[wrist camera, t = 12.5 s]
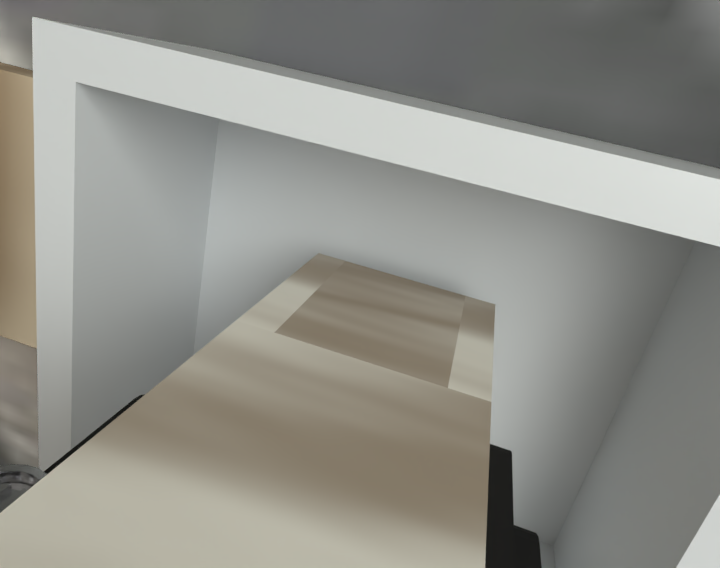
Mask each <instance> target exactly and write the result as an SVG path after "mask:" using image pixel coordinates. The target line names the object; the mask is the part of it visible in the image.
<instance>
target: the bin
mask: <svg viewBox="0 0 720 568" xmlns="http://www.w3.org/2000/svg"><path fill="white" fill-rule="evenodd" d="M32 45H33V113H34V180H35V248H36V316H37V384H38V451H39V469H40V470H42V471H43V472H44V471H45V470H46V469H48V468H49V467H50V466H51V465H53V464H54V463H55V462H56V461H58V460H59V459H60V458H61V457H62V456H64V455H65V454H66V453H67V452H69V451H70V450H71V449H72V448H74V447H75V446H76V445H77V444H79V443H80V442H81V441H82V440H84V439H85V438H86V437H87V436H89V435H90V434H91V433H92V432H94V431H95V430H96V429H97V428H99V427H100V426H101V425H102V424H103V423H105V422H106V421H107V420H108V419H110V418H111V417H112V416H113V415H115V414H116V413H117V412H118V411H120V410H121V409H122V408H123V407H125V406H126V405H127V404H128V403H130V402H131V401H132V400H133V399H135V398H136V397H138V396H140V395H144V394H146V393H148V392H149V391H150V390H151V389H153V388H154V387H155V386H156V385H157V384H159V383H160V382H161V381H162V380H164V379H165V378H166V377H167V376H169V375H170V374H171V373H172V372H173V371H175V370H176V369H177V368H178V367H180V366H181V365H182V364H183V363H184V362H186V361H187V360H188V359H189V358H191V357H192V356H193V355H194V354H195V353H197V352H198V351H199V350H200V349H202V348H203V347H204V346H205V345H206V344H208V343H209V342H210V341H211V340H213V339H214V338H215V337H216V336H218V335H219V334H220V333H221V332H222V331H224V330H225V329H226V328H227V327H229V326H230V325H231V324H232V323H233V322H235V321H236V320H237V319H238V318H240V317H241V316H242V315H243V314H244V313H246V312H247V311H248V310H249V309H251V308H252V307H253V306H254V305H255V304H257V303H258V302H259V301H260V300H262V299H263V298H264V297H265V296H267V295H268V294H269V293H270V292H271V291H273V290H274V289H275V288H276V287H278V286H279V285H280V284H281V283H282V282H284V281H285V280H286V279H287V278H289V277H290V276H291V275H292V274H293V273H295V272H296V271H297V270H298V269H300V268H301V267H302V266H303V265H304V264H306V263H307V262H308V261H309V260H311V259H312V258H313V257H314V256H316V255H317V254H318V253H320V254H323V255H327V256H330V257H334V258H337V259H341V260H344V261H348V262H351V263H354V264H358V265H361V266H365V267H368V268H372V269H375V270H379V271H382V272H385V273H389V274H392V275H396V276H399V277H403V278H406V279H410V280H413V281H416V282H420V283H423V284H427V285H430V286H434V287H437V288H441V289H444V290H447V291H451V292H454V293H458V294H461V295H465V296H468V297H472V298H475V299H478V300H482V301H485V302H489V303H492V304H495V322H494V348H493V374H492V400H491V427H490V444H492V445H495V446H498V447H501V448H504V449H507V450H510V451H511V452H512V474H513V517H514V525H516V526H518V527H521V528H524V529H527V530H530V531H532V532H535V533H537V535H538V537H539V543H540V554H541V566H542V568H720V168H715V167H711V166H707V165H702V164H698V163H694V162H690V161H685V160H681V159H677V158H673V157H668V156H664V155H660V154H655V153H651V152H647V151H643V150H638V149H634V148H630V147H625V146H621V145H617V144H613V143H608V142H604V141H600V140H595V139H591V138H587V137H583V136H578V135H574V134H570V133H565V132H561V131H557V130H553V129H548V128H544V127H540V126H535V125H531V124H527V123H523V122H518V121H514V120H510V119H506V118H501V117H497V116H493V115H488V114H484V113H480V112H476V111H471V110H467V109H463V108H458V107H454V106H450V105H446V104H441V103H437V102H433V101H428V100H424V99H420V98H416V97H411V96H407V95H403V94H398V93H394V92H390V91H386V90H381V89H377V88H373V87H368V86H364V85H360V84H356V83H351V82H347V81H343V80H338V79H334V78H330V77H326V76H321V75H317V74H313V73H309V72H304V71H300V70H296V69H291V68H287V67H283V66H279V65H274V64H270V63H266V62H261V61H257V60H253V59H249V58H244V57H240V56H236V55H231V54H227V53H223V52H219V51H214V50H209V49H204V48H198V47H193V46H188V45H182V44H177V43H171V42H166V41H161V40H155V39H150V38H144V37H139V36H133V35H128V34H123V33H117V32H112V31H106V30H101V29H95V28H90V27H85V26H79V25H74V24H68V23H63V22H58V21H52V20H47V19H41V18H36V17H32Z"/></svg>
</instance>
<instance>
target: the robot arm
mask: <svg viewBox="0 0 720 568" xmlns="http://www.w3.org/2000/svg"><path fill="white" fill-rule="evenodd" d="M144 395H145V394H144ZM144 395H140V396H138V397H136V398H135V399H133V400H132V401H131V402H130V403H128V404H127V405H126V406H125V407H123V408H122V409H121V410H120V411H118V412H117V413H116V414H115V415H113V416H112V417H111V418H110V419H108V420H107V421H106V422H105V423H103V424H102V425H101V426H100V427H99V428H97V429H96V430H95V431H94V432H92V433H91V434H90V435H89V436H87V437H86V438H85V439H84V440H82V441H81V442H80V443H79V444H77V445H76V446H75V447H74V448H72V449H71V450H70V451H69V452H67V453H66V454H65V455H64V456H62V457H61V458H60V459H59V460H58V461H56V462H55V463H54V464H53V465H51V466H50V467H49V468H48V469H46V470H45V471H44V472H43V471H42V470H40V469H39V468H36V467H32V466H28V465H15V464H10V465H3V466H0V513H1V512H2V511H3V510H4V509H6V508H7V507H8V506H9V505H10V504H12V503H13V502H14V501H15V500H17V499H18V498H19V497H20V496H22V495H23V494H24V493H25V492H26V491H28V490H29V489H30V488H31V487H33V486H34V485H35V484H36V483H37V482H39V481H40V480H41V479H42V478H44V477H45V476H46V475H47V474H48V473H50V472H51V471H52V470H53V469H55V468H56V467H57V466H58V465H59V464H61V463H62V462H63V461H64V460H66V459H67V458H68V457H69V456H71V455H72V454H73V453H74V452H75V451H77V450H78V449H79V448H80V447H82V446H83V445H84V444H85V443H86V442H88V441H89V440H90V439H91V438H93V437H94V436H95V435H96V434H97V433H99V432H100V431H101V430H102V429H104V428H105V427H106V426H107V425H108V424H110V423H111V422H112V421H113V420H115V419H116V418H117V417H118V416H120V415H121V414H122V413H123V412H124V411H126V410H127V409H128V408H129V407H131V406H132V405H133V404H134V403H135V402H137V401H138V400H139V399H140V398H142V397H143V396H144ZM485 568H542V566H541V554H540V543H539V537H538V535H537V533H535V532H532V531H530V530H527V529H524V528H521V527H518V526H516V525H514V517H513V474H512V452H511V451H510V450H507V449H504V448H501V447H498V446H495V445H492V444H490V453H489V479H488V505H487V531H486V557H485Z"/></svg>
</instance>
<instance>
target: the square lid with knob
mask: <svg viewBox="0 0 720 568" xmlns="http://www.w3.org/2000/svg"><path fill="white" fill-rule="evenodd" d="M0 336H2V337H5V338H8V339H11V340H14V341H17V342H19V343H22V344H25V345H28V346H31V347H34V348H36V349H37V316H36V248H35V180H34V113H33V71H32V70H28V69H24V68H20V67H16V66H12V65H8V64H5V63H1V62H0Z"/></svg>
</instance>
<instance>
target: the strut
mask: <svg viewBox="0 0 720 568" xmlns="http://www.w3.org/2000/svg"><path fill="white" fill-rule="evenodd" d="M494 322H495V304H492V303H489V302H485V301H482V300H478V299H475V298H472V297H468V296H465V295H461V294H458V293H454V292H451V291H447V290H444V289H441V288H437V287H434V286H430V285H427V284H423V283H420V282H416V281H413V280H410V279H406V278H403V277H399V276H396V275H392V274H389V273H385V272H382V271H379V270H375V269H372V268H368V267H365V266H361V265H358V264H354V263H351V262H348V261H344V260H341V259H337V258H334V257H330V256H327V255H323V254H320V253H318V254H317V255H316V256H314V257H313V258H312V259H311V260H309V261H308V262H307V263H306V264H304V265H303V266H302V267H301V268H300V269H298V270H297V271H296V272H295V273H293V274H292V275H291V276H290V277H289V278H287V279H286V280H285V281H284V282H282V283H281V284H280V285H279V286H278V287H276V288H275V289H274V290H273V291H271V292H270V293H269V294H268V295H267V296H265V297H264V298H263V299H262V300H260V301H259V302H258V303H257V304H255V305H254V306H253V307H252V308H251V309H249V310H248V311H247V312H246V313H244V314H243V315H242V316H241V317H240V318H238V319H237V320H236V321H235V322H233V323H232V324H231V325H230V326H229V327H227V328H226V329H225V330H224V331H222V332H221V333H220V334H219V335H218V336H216V337H215V338H214V339H213V340H211V341H210V342H209V343H208V344H206V345H205V346H204V347H203V348H202V349H200V350H199V351H198V352H197V353H195V354H194V355H193V356H192V357H191V358H189V359H188V360H187V361H186V362H184V363H183V364H182V365H181V366H180V367H178V368H177V369H176V370H175V371H173V372H172V373H171V374H170V375H169V376H167V377H166V378H165V379H164V380H162V381H161V382H160V383H159V384H157V385H156V386H155V387H154V388H153V389H151V390H150V391H149V392H148V393H146V394H145V395H144V396H143V397H142V398H140V399H139V400H138V401H137V402H135V403H134V404H133V405H132V406H131V407H129V408H128V409H127V410H126V411H124V412H123V413H122V414H121V415H120V416H118V417H117V418H116V419H115V420H113V421H112V422H111V423H110V424H108V425H107V426H106V427H105V428H104V429H102V430H101V431H100V432H99V433H97V434H96V435H95V436H94V437H93V438H91V439H90V440H89V441H88V442H86V443H85V444H84V445H83V446H82V447H80V448H79V449H78V450H77V451H75V452H74V453H73V454H72V455H71V456H69V457H68V458H67V459H66V460H64V461H63V462H62V463H61V464H59V465H58V466H57V467H56V468H55V469H53V470H52V471H51V472H50V473H48V474H47V475H46V476H45V477H44V478H42V479H41V480H40V481H39V482H37V483H36V484H35V485H34V486H33V487H31V488H30V489H29V490H28V491H26V492H25V493H24V494H23V495H22V496H20V497H19V498H18V499H17V500H15V501H14V502H13V503H12V504H10V505H9V506H8V507H7V508H6V509H4V510H3V511H2V512H1V513H0V568H485V557H486V531H487V505H488V479H489V453H490V427H491V400H492V374H493V348H494Z"/></svg>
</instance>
